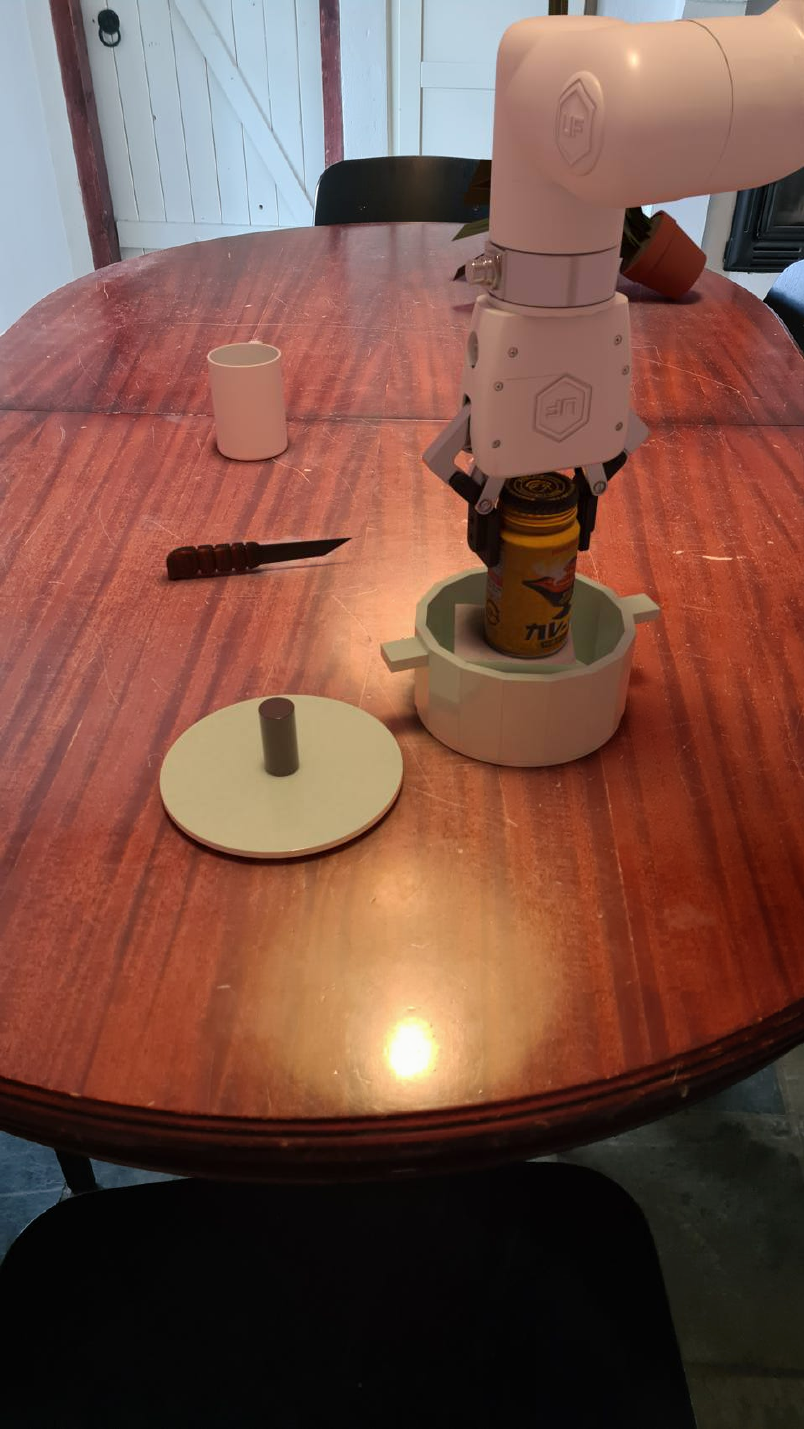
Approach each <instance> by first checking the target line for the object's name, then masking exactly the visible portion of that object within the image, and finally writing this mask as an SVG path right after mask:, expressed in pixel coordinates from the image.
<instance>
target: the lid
mask: <svg viewBox="0 0 804 1429" xmlns="http://www.w3.org/2000/svg"><path fill="white" fill-rule="evenodd" d="M403 778H404V759H403V755H402V750H401V748H400V745H399V743H398V741H397V740H396V738H395V737H394V735H393V734H392V732H391V730H389V729H388V727H386V725H385V724H384V723H383V722H382V721H380V720H379V719H377V717H375V716H374V715H372V714H371V713H368V712H367V711H366V710H364V709H362V708H360V707H357V706H355V705H354V704H350V703H347V702H345V701H342V700H338V699H333V698H330V697H325V696H324V697H323V696H318V695H311V694H309V695H308V694H278V695H275V694H274V695H268V696H260V697H255V698H250V699H247V700H243V701H239V702H237V703H234V704H231V705H228V706H227V705H226V706H225V707H222V708H220V709H217V710H216V711H214V712H211V713H209V714H208V715H206V716H204V717H202V718H201V719H199V720H197V722H195V723H194V724H192V725H190V727H188V728H187V729H186V730H185V731H184V732H182V734H181V735H180V736H179V737H178V738H177V739H176V740H175V741H174V742H173V744H172V745H171V747H170V748H169V749H168V751H167V753H166V755H165V757H164V758H163V761H162V765H161V768H160V771H159V782H158V783H159V791H160V796H161V800H162V803H163V806H164V809H165V811H166V812H167V814H168V816H169V818H170V819H171V820H172V821H173V823H174V824H175V825H176V826H177V827H178V828H179V829H180V830H181V831H183V833H185V834H186V835H187V836H189V837H190V838H192V840H193V839H194V840H195V841H196V842H198V843H200V844H201V845H202V844H203V845H205V846H207V847H208V848H211V849H213V850H215V851H220V852H223V853H226V854H229V855H234V856H235V855H236V856H239V857H245V858H255V859H256V858H257V859H284V858H285V859H286V858H294V857H301V856H306V855H307V856H308V855H311V854H316V853H320V852H323V851H326V850H329V849H332V848H335V847H337V846H340V845H342V844H345V843H347V842H349V841H351V840H353V839H354V838H357V837H359V836H360V835H362V834H363V833H364V832H366V831H367V830H369V829H370V828H372V827H373V826H374V825H375V824H376V823H377V822H378V821H380V820H381V819H382V818H383V817H384V815H385V814H386V813H387V812H388V811H389V810H390V809H391V807H392V806H393V804H394V802H395V801H396V799H397V797H398V795H399V793H400V790H401V787H402V784H403Z"/></svg>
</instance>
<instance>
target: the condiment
mask: <svg viewBox="0 0 804 1429" xmlns="http://www.w3.org/2000/svg"><path fill="white" fill-rule="evenodd" d="M572 479H573V478H571V477H569V476H568V475H566V474H563V473H560V472H559V471H553V472H547V473H540V474H534V475H527V476H520V477H512V478H506V480H505V483H504V485H503V487H502V490H501V492H500V494H499V496H498V499H497V501H496V503H495V508H496V509H497V510H498V511H499V512H500V514H501V533H500V550H499V563H498V564H497V565H496V567H491V568H488V574H487V585H486V605H485V606H481V605H472V604H455V646H454V655H456V656H458V657H459V658H461V659H463V660H464V661H473V662H478V661H486V662H508V663H518V664H545V665H554V664H557V665H573V664H576V659H575V652H574V646H573V639H572V632H571V624H570V612H571V608H572V597H573V589H574V581H575V573H576V569H577V561H578V553H579V550H578V544H579V534H580V525H579V522H578V520H577V519H576V515H577V502H578V498H579V491H578V487H577V485H576V482H573V480H572Z"/></svg>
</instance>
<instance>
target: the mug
mask: <svg viewBox="0 0 804 1429" xmlns="http://www.w3.org/2000/svg"><path fill="white" fill-rule="evenodd" d="M206 357H207V358H206V360H207V361H206V362H207V369H208V377H209V378H208V379H209V386H210V393H211V394H210V395H211V401H212V402H211V403H212V410H213V412H212V413H213V418H214V429H215V435H216V436H215V438H216V444H217V449H218V451H219V452H220V454H222V455H223V456H224V457H225V458H226V457H227V458H228V459H232V460H236V461H237V460H238V461H262V460H266V459H270V458H273V457H277V456H278V455H281V454H282V453H283V452H285V451H286V449H287V447H288V442H289V441H288V427H287V416H286V405H285V404H286V401H285V390H284V376H283V364H282V352H281V350H280V349H279V348H277V347H276V346H273V345H270V344H266V343H262V342H261V341H260V340H250V341H249V340H248V342H238V343H230V344H225V345H221V346H218V347H216V348H214V349H212V350H210V351H209V352H208V353H207V356H206Z"/></svg>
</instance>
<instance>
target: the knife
mask: <svg viewBox="0 0 804 1429" xmlns="http://www.w3.org/2000/svg"><path fill="white" fill-rule="evenodd" d="M350 540H353V537H340V538H339V537H338V538H326V539H315V540H314V539H313V540H303V541H290V542H278V543H265V544H260V543H258V542H257V541H246V542H245V544H244V542H243V541H239V542H238V541H237V542H232V544H231V545H230V543H227V542H225V543H217V544H215V545H214V546H213V544H199V545H197V548H196V546H194V545H185V546H180V547H177V548H175V549H173V550H171V551H170V552H169V553H168V555H167V557H166V558H165V564H166V571H167V576H168V578H169V579H170V580H171V581H174V580H176V579H177V578H179V577H182V576H196V575H198V573H199V572H200V574H201V575H210V574H214V573H216V572H219V573H227V572H232V571H233V569H234V571H235V572H242V571H243V572H244V571H246V570H247V568H248V570H249V571H250V570H251V571H252V570H255V569H256V568H258V567H260V566H264V565H270V564H276V563H277V564H278V563H283V562H284V563H285V562H291V561H292V562H293V561H298V560H305V559H313V558H320V557H325V556H326V555H328V554H330V553H331V552H333V551H335V550H336V549H338V548H339V547H341V546H342V545H344V544H345V543H348V542H349V541H350Z"/></svg>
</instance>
